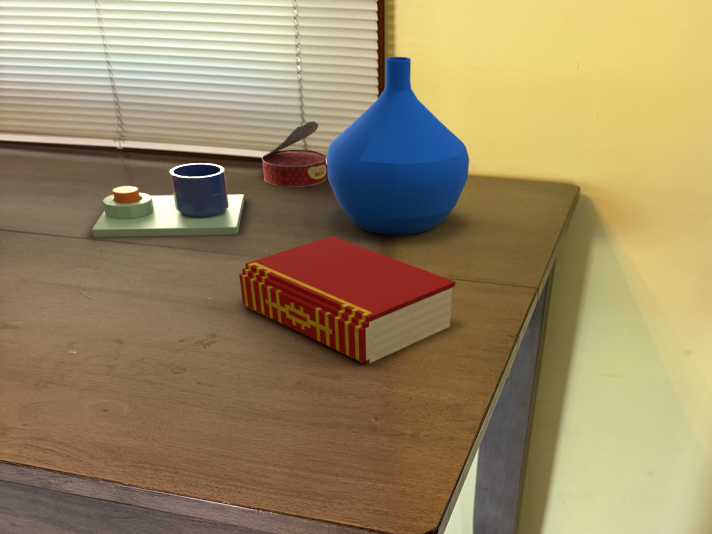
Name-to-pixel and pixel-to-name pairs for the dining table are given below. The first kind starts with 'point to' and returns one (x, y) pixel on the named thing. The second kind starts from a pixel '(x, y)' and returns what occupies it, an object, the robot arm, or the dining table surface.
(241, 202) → the scale
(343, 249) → the book
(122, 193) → the button
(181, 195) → the cup
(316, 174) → the canned food
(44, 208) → the dining table surface
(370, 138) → the vase
